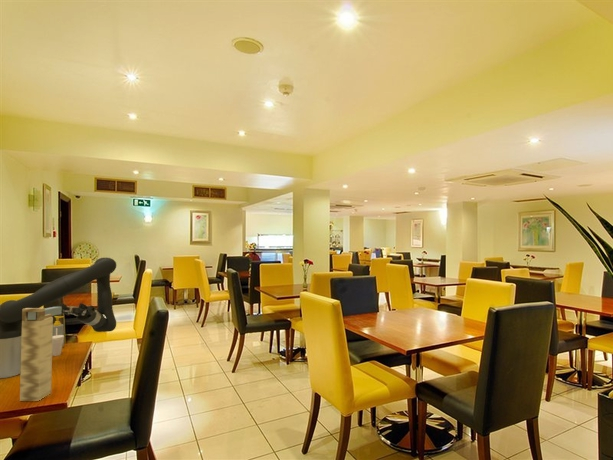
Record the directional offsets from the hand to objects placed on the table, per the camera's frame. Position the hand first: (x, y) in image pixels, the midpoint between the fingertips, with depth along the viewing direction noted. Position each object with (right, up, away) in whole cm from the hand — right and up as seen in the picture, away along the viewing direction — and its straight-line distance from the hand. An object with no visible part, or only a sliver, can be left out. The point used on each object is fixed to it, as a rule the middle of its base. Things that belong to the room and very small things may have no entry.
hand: (70, 305), depth 152 cm
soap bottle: (-34, -33, +38) cm, 61 cm away
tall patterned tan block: (+1, -31, -21) cm, 38 cm away
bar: (+1, -1, -16) cm, 16 cm away
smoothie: (-26, -33, +27) cm, 50 cm away
